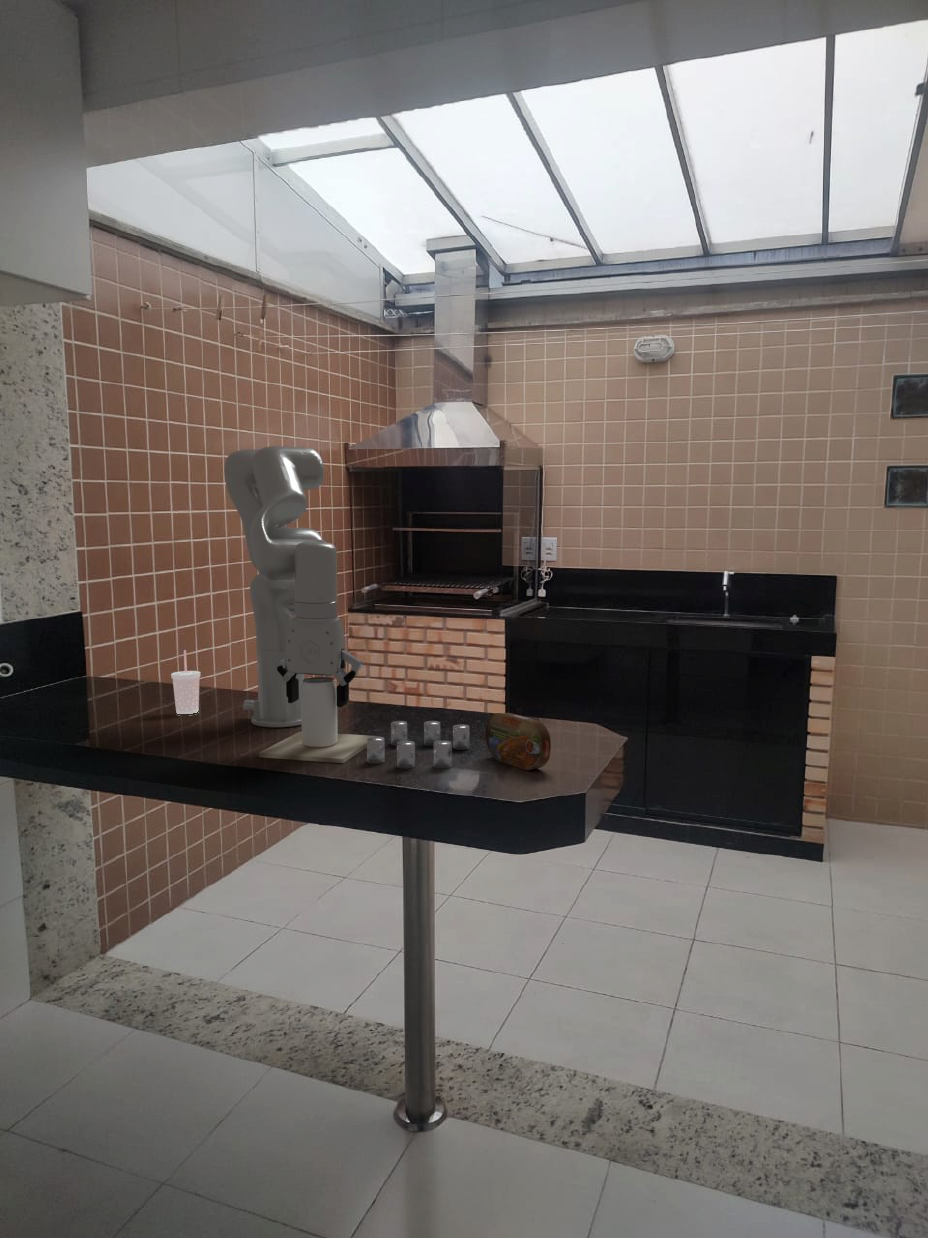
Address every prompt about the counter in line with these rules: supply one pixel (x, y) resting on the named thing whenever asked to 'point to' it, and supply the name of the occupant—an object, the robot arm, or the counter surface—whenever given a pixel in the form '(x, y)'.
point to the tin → (518, 741)
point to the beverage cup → (186, 690)
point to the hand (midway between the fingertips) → (317, 703)
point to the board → (317, 749)
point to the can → (319, 712)
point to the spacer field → (408, 747)
